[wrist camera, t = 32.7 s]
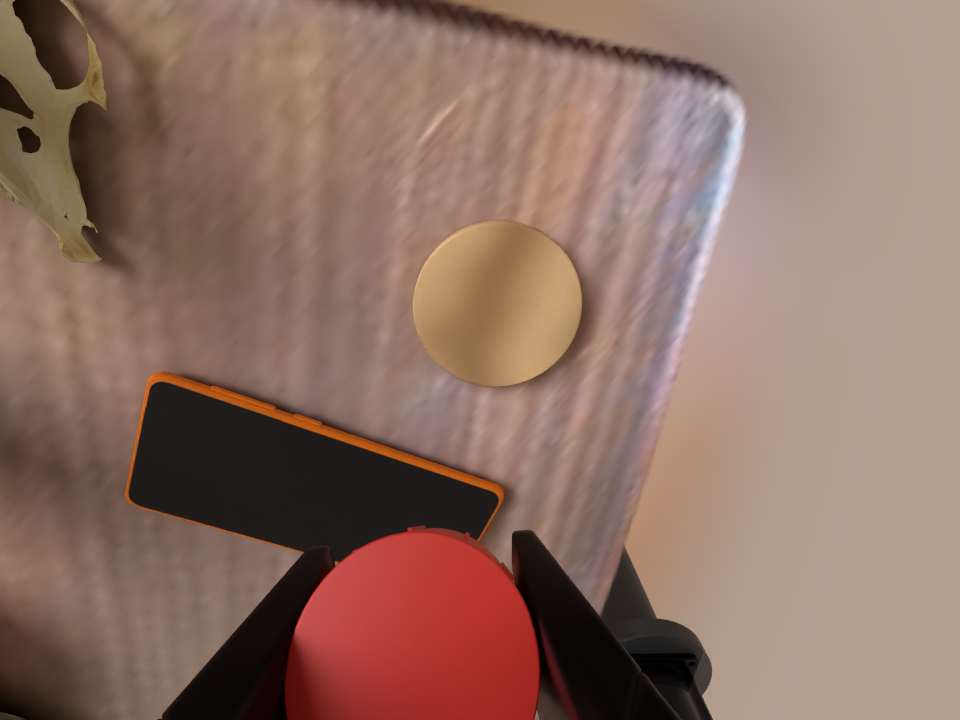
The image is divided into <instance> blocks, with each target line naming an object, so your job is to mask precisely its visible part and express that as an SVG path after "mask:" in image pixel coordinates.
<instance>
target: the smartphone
mask: <svg viewBox="0 0 960 720" xmlns="http://www.w3.org/2000/svg"><path fill="white" fill-rule="evenodd" d="M504 496H505V495H504V490H503V489H502V488H501V486H500V485H498V484H496V483H493V482H490V481H487V480H484V479H481V478H478V477H476V476H473V475H470V474H467V473H464V472H461V471H458V470H455V469H452V468H449V467H446V466H443V465H440V464H437V463H434V462H431V461H429V460H426V459H423V458H420V457H417V456H414V455H411V454H408V453H405V452H402V451H399V450H396V449H393V448H390V447H387V446H384V445H381V444H379V443H376V442H373V441H370V440H367V439H364V438H361V437H358V436H355V435H352V434H349V433H346V432H343V431H340V430H337V429H334V428H331V427H329V426H326V425H323V424H322V422H320V421H317V420H314V419H311V418H308V417H305V416H303V415H300V414H297V413H296V414H295V415H293V414H290V413H287V412H284V411H281V410H279V409H276V407H275V406H273V405H270V404H267V403H264V402H261V401H259V400H256V399H253V398H250V397H247V396H244V395H241V394H238V393H235V392H232V391H229V390H226V389H223V388H220V387H217V386H214V385H213V386H208V385H205V384H202V383H199V382H196V381H193V380H190V379H187V378H184V377H182V376H179V375H176V374H173V373H169V372H159V373H155V374H154V375H152V376H151V377H150V378H149V380H148V382H147V386H146V391H145V396H144V401H143V406H142V411H141V416H140V421H139V426H138V431H137V436H136V441H135V446H134V451H133V456H132V461H131V466H130V471H129V476H128V481H127V486H126V491H125V497H126V499H127V500H128V502H130V503H131V504H132V505H134V506H137V507H140V508H143V509H147V510H150V511H154V512H157V513H161V514H165V515H168V516H172V517H175V518H179V519H183V520H186V521H190V522H193V523H197V524H201V525H204V526H208V527H211V528H215V529H219V530H222V531H226V532H229V533H233V534H237V535H240V536H244V537H247V538H251V539H255V540H258V541H262V542H265V543H269V544H273V545H276V546H280V547H283V548H287V549H290V550H294V551H298V552H301V553H304V552H305V551H306V550H307V549H308V548H310V547H313V546H326V545H327V546H330V548H331V549H332V553H333V557H334V562H337V563H340V562H341V561H342V560H344V559H345V558H346V557H347V556H348V555H350V554H351V553H352V552H353V551H354V550H355V549H359V548H361V547H362V546H364V545H366V544H368V543H371V542H373V541H375V540H377V539H380V538H383V537H386V536H389V535H393V534H398V533H403V532H408V528H410V527H417V526H425V528H443V529H449V530H453V531H457V532H460V533H462V534H466V532H467V533H469V537H471V538H473V539H475V540H476V541H478V542H480V540H481V538H482V536H483V535H484V533H485V531H486V530H487V528H488V526H489V524H490V523H491V521H492V519H493V517H494V516H495V514H496V512H497V511H498V509H499V507H500V505H501V504H502V502H503V499H504Z"/></svg>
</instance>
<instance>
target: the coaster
mask: <svg viewBox="0 0 960 720" xmlns="http://www.w3.org/2000/svg"><path fill="white" fill-rule="evenodd" d="M581 314H582V290H581V285H580V281H579V278H578V275H577V272H576V270H575V268H574V266H573V264H572V262H571V260H570V259H569V257H568V256H567V254H566V253H565V252H564V251H563V250H562V249H561V247H560V246H559V245H558V244H557V243H555V242H554V241H553V240H552V239H551V238H549V237H548V236H547V235H545V234H543V233H542V232H540V231H538V230H537V229H535V228H532V227H530V226H528V225H525V224H521V223H518V222H513V221H505V220H492V221H485V222H479V223H476V224H472V225H469V226H467V227H465V228H462V229H460V230H458V231H456V232H455V233H453V234H451V235H450V236H448V237H447V238H446V239H445V240H444V241H442V242H441V243H440V244H439V245H438V246H437V247H436V248H435V249H434V250H433V251H432V253H431V254H430V256H429V257H428V258H427V260H426V261H425V263H424V265H423V267H422V269H421V271H420V274H419V277H418V279H417V282H416V285H415V290H414V295H413V318H414V323H415V328H416V331H417V334H418V337H419V339H420V341H421V343H422V345H423V347H424V348H425V350H426V351H427V353H428V354H429V355H430V357H431V358H432V359H433V360H434V361H435V362H436V363H437V364H438V365H439V366H440V367H441V368H443V369H444V370H445V371H447V372H448V373H450V374H451V375H453V376H455V377H457V378H459V379H461V380H463V381H466V382H469V383H472V384H476V385H481V386H490V387H502V386H509V385H515V384H518V383H522V382H525V381H527V380H530V379H532V378H534V377H536V376H538V375H540V374H542V373H543V372H545V371H546V370H547V369H549V368H550V367H551V366H552V365H554V364H555V363H556V362H557V361H558V360H559V359H560V358H561V356H562V355H563V354H564V353H565V352H566V350H567V349H568V347H569V346H570V344H571V342H572V341H573V339H574V337H575V335H576V332H577V329H578V327H579V323H580V319H581Z"/></svg>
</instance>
